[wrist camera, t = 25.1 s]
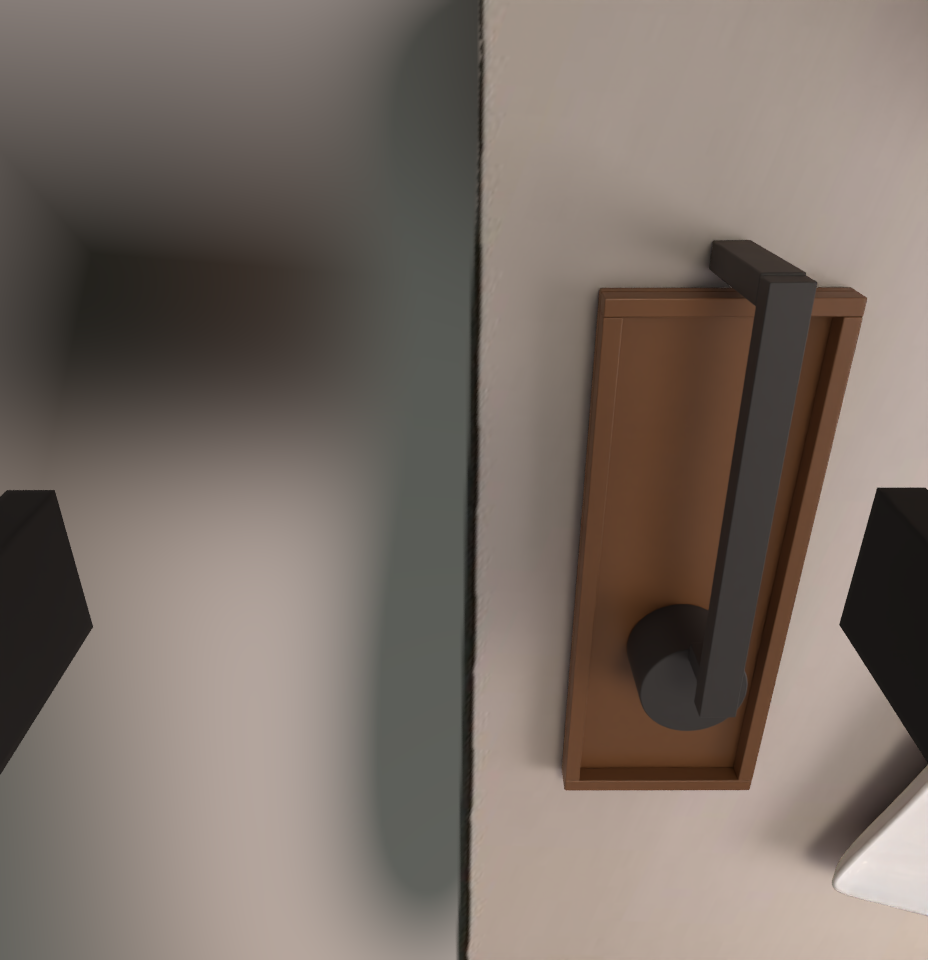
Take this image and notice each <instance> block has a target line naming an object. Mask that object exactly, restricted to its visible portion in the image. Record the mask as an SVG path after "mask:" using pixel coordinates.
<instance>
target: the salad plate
mask: <svg viewBox="0 0 928 960" xmlns="http://www.w3.org/2000/svg"><path fill="white" fill-rule="evenodd" d="M832 885H833V888H834V889H835V890H836V891H838V892H840V893H843V894H846V895H848V896H852V897H855V898H859V899H863V900H866V901H870V902H874V903H878V904H882V905H886V906H890V907H894V908H898V909H902V910H905V911H909V912H914V913H918V914H922V915H926V916H928V765H927V766H926V767H925V768H924V769H923V770H922V772H921V773H920V774H919V775H918V776H917V777H916V778H915V779H914V780H913V781H912V783H911V784H910V785H909V786H908V787H907V788H906V789H905V790H904V791H903V792H902V793H901V794H900V795H899V796H898V797H897V798H896V799H895V800H894V801H893V802H892V803H891V804H890V805H889V806H888V808H887V809H886V810H885V811H884V812H883V813H882V814H881V815H880V816H879V817H878V818H877V819H876V820H875V821H874V822H873V823H872V824H871V825H870V826H869V827H868V828H867V829H866V830H865V831H864V832H863V833H862V834H861V835H860V836H859V837H858V838H857V839H856V840H855V841H854V842H853V844H852V845H851V846H850V847H849V848H848V850H847V851H846V852H845V853H844V855H843V856H842V858H841V859H840V861H839V863H838V865H837V867H836V869H835V873H834V876H833V880H832Z"/></svg>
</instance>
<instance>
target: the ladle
mask: <svg viewBox="0 0 928 960" xmlns="http://www.w3.org/2000/svg"><path fill="white" fill-rule="evenodd" d="M710 270H711V271H712V272H713V273H715V274H716V275H717V276H718V277H720V278H721V279H722V280H723V281H725V282H726V283H727V284H728V285H730V286H731V287H732V288H733V289H735V290H736V291H737V292H738V293H740V294H741V295H742V296H743V297H745V298H746V299H747V300H748V301H750V302H751V303H752V304H753V305H755V306H756V309H755V315H754V322H753V328H752V334H751V341H750V347H749V354H748V360H747V366H746V373H745V379H744V386H743V392H742V398H741V405H740V411H739V418H738V424H737V430H736V437H735V443H734V450H733V456H732V462H731V469H730V475H729V482H728V488H727V494H726V501H725V507H724V514H723V520H722V526H721V533H720V539H719V546H718V552H717V558H716V565H715V571H714V578H713V584H712V590H711V597H710V603H709V610H706V609H704V608H702V607H699V606H695V605H689V604H676V605H670V606H666V607H662V608H660V609H657V610H655V611H653V612H651V613H649V614H648V615H646V616H645V617H644V618H643V619H641V620H640V621H639V622H638V623H637V624H636V626H635V627H634V629H633V630H632V632H631V634H630V636H629V639H628V643H627V656H628V659H629V663H630V667H631V670H632V674H633V677H634V681H635V684H636V688H637V691H638V695H639V699H640V702H641V705H642V707H643V709H644V711H645V712H646V714H647V715H648V716H649V717H650V718H651V719H652V720H653V721H655V722H656V723H658V724H660V725H661V726H664V727H666V728H669V729H673V730H679V731H696V730H702V729H706V728H709V727H712V726H715V725H717V724H719V723H721V722H723V721H724V720H726V719H727V718H729V717H736V712H737V709H738V708H739V707H740V705H741V704H742V702H743V700H744V698H745V696H746V692H747V686H748V681H747V675H746V672H745V665H746V659H747V654H748V649H749V643H750V638H751V633H752V627H753V622H754V617H755V611H756V606H757V601H758V596H759V590H760V585H761V580H762V574H763V569H764V564H765V558H766V553H767V548H768V542H769V537H770V532H771V526H772V521H773V516H774V511H775V505H776V500H777V495H778V489H779V484H780V479H781V473H782V468H783V463H784V457H785V452H786V447H787V441H788V436H789V431H790V426H791V420H792V415H793V410H794V404H795V399H796V394H797V388H798V383H799V378H800V372H801V367H802V362H803V356H804V351H805V346H806V341H807V335H808V330H809V325H810V319H811V314H812V309H813V303H814V298H815V293H816V287H817V282H816V281H814V280H813V279H811V278H809V277H807V276H806V273H805V272H804V271H802V270H800V269H799V268H797V267H795V266H794V265H792V264H790V263H788V262H787V261H785V260H783V259H782V258H780V257H778V256H777V255H775V254H773V253H771V252H770V251H768V250H766V249H765V248H763V247H761V246H759V245H758V244H756V243H754V242H753V241H751V240H727V241H713V245H712V253H711V261H710Z"/></svg>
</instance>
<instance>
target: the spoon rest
mask: <svg viewBox="0 0 928 960" xmlns="http://www.w3.org/2000/svg"><path fill="white" fill-rule="evenodd" d="M866 302H867V298H866V297H865V296H863V295H862V294H860V293H859V292H857V291H855V290H854V289H852V288H816V293H815V298H814V303H813V309H812V314H811V319H810V325H809V330H808V335H807V341H806V346H805V351H804V356H803V362H802V367H801V372H800V378H799V383H798V388H797V394H796V399H795V404H794V410H793V415H792V420H791V426H790V431H789V436H788V441H787V447H786V452H785V457H784V463H783V468H782V473H781V479H780V484H779V489H778V495H777V500H776V505H775V511H774V516H773V521H772V526H771V532H770V537H769V542H768V548H767V553H766V558H765V564H764V569H763V574H762V580H761V585H760V590H759V596H758V601H757V606H756V611H755V617H754V622H753V627H752V633H751V638H750V643H749V649H748V654H747V659H746V665H745V672H746V675H747V681H748V686H747V692H746V696H745V698H744V700H743V702H742V704H741V705H740V707H739V708H738V709H737V712H736V717H729V718H727V719H726V720H724V721H723V722H721V723H719V724H717V725H715V726H712V727H709V728H706V729H702V730H696V731H679V730H673V729H669V728H666V727H664V726H661V725H660V724H658V723H656V722H655V721H653V720H652V719H651V718H650V717H649V716H648V715H647V714H646V712H645V711H644V709H643V707H642V705H641V702H640V699H639V695H638V691H637V688H636V684H635V681H634V677H633V674H632V670H631V667H630V663H629V659H628V656H627V643H628V639H629V636H630V634H631V632H632V630H633V629H634V627H635V626H636V624H637V623H638V622H639V621H640V620H641V619H643V618H644V617H645V616H646V615H648V614H649V613H651V612H653V611H655V610H657V609H660V608H662V607H666V606H670V605H676V604H689V605H695V606H699V607H702V608H704V609H706V610H709V603H710V597H711V590H712V584H713V578H714V571H715V565H716V558H717V552H718V546H719V539H720V533H721V526H722V520H723V514H724V507H725V501H726V494H727V488H728V482H729V475H730V469H731V462H732V456H733V450H734V443H735V437H736V430H737V424H738V418H739V411H740V405H741V398H742V392H743V386H744V379H745V373H746V366H747V360H748V354H749V347H750V341H751V334H752V328H753V322H754V315H755V309H756V306H755V305H753V304H752V303H751V302H750V301H748V300H747V299H746V298H745V297H743V296H742V295H741V294H740V293H738V292H737V291H736V290H735V289H733V288H600V290H599V300H598V313H597V326H596V339H595V351H594V364H593V377H592V390H591V402H590V415H589V428H588V440H587V453H586V466H585V479H584V491H583V504H582V517H581V530H580V542H579V555H578V568H577V581H576V593H575V606H574V619H573V632H572V644H571V657H570V670H569V683H568V695H567V708H566V721H565V734H564V746H563V759H562V775H563V782H564V789H565V790H749V789H750V785H751V780H752V777H753V773H754V769H755V765H756V761H757V756H758V752H759V748H760V744H761V740H762V736H763V731H764V727H765V723H766V719H767V715H768V711H769V706H770V702H771V698H772V694H773V690H774V686H775V681H776V677H777V673H778V669H779V665H780V661H781V656H782V652H783V648H784V644H785V640H786V635H787V631H788V627H789V623H790V619H791V615H792V610H793V606H794V602H795V598H796V594H797V590H798V585H799V581H800V577H801V573H802V569H803V565H804V560H805V556H806V552H807V548H808V544H809V540H810V535H811V531H812V527H813V523H814V519H815V514H816V510H817V506H818V502H819V498H820V494H821V489H822V485H823V481H824V477H825V473H826V469H827V464H828V460H829V456H830V452H831V448H832V444H833V439H834V435H835V431H836V427H837V423H838V419H839V414H840V410H841V406H842V402H843V398H844V394H845V389H846V385H847V381H848V377H849V373H850V368H851V364H852V360H853V356H854V352H855V348H856V343H857V339H858V335H859V331H860V327H861V323H862V316H863V314H864V310H865V306H866Z"/></svg>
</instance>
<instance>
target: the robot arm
mask: <svg viewBox="0 0 928 960" xmlns="http://www.w3.org/2000/svg"><path fill="white" fill-rule="evenodd" d="M839 625H840V626H841V628H842V630H843V631H844V633H845V634H846V636H847V637H848V639H849V640H850V642H851V644H852V645H853V647H854V648H855V650H856V651H857V653H858V655H859V656H860V658H861V659H862V661H863V662H864V664H865V665H866V667H867V669H868V670H869V672H870V673H871V675H872V676H873V678H874V680H875V681H876V683H877V684H878V686H879V687H880V689H881V691H882V692H883V694H884V695H885V697H886V698H887V700H888V701H889V703H890V705H891V706H892V708H893V709H894V711H895V712H896V714H897V716H898V717H899V719H900V720H901V722H902V723H903V725H904V726H905V728H906V730H907V731H908V733H909V734H910V736H911V737H912V739H913V741H914V742H915V744H916V745H917V747H918V748H919V750H920V751H921V753H922V755H923V756H924V758H925V759H926V761H927V762H928V490H927V489H926V488H877V491H876V494H875V498H874V501H873V505H872V509H871V512H870V516H869V520H868V523H867V527H866V530H865V534H864V538H863V541H862V545H861V548H860V552H859V556H858V559H857V563H856V566H855V570H854V574H853V577H852V581H851V585H850V588H849V592H848V595H847V599H846V603H845V606H844V610H843V613H842V617H841V621H840V624H839ZM92 628H93V625H92V622H91V618H90V614H89V611H88V607H87V604H86V600H85V596H84V593H83V589H82V586H81V582H80V579H79V575H78V572H77V568H76V565H75V561H74V557H73V554H72V550H71V547H70V543H69V540H68V536H67V532H66V529H65V525H64V522H63V518H62V515H61V511H60V508H59V504H58V501H57V497H56V493H55V490H13V491H12V490H7V491H6V492H5V493H4V494H3V495H2V496H1V497H0V774H1V773H2V771H3V770H4V768H5V766H6V765H7V763H8V761H9V760H10V758H11V757H12V755H13V754H14V752H15V750H16V749H17V747H18V746H19V744H20V742H21V741H22V739H23V738H24V736H25V734H26V733H27V731H28V730H29V728H30V726H31V725H32V723H33V722H34V720H35V719H36V717H37V715H38V714H39V712H40V711H41V709H42V707H43V706H44V704H45V703H46V701H47V699H48V698H49V696H50V695H51V693H52V691H53V690H54V688H55V687H56V685H57V683H58V682H59V680H60V679H61V677H62V675H63V674H64V672H65V671H66V669H67V667H68V666H69V664H70V663H71V661H72V660H73V658H74V656H75V655H76V653H77V652H78V650H79V648H80V647H81V645H82V644H83V642H84V640H85V639H86V637H87V636H88V634H89V632H90V631H91V629H92Z"/></svg>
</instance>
